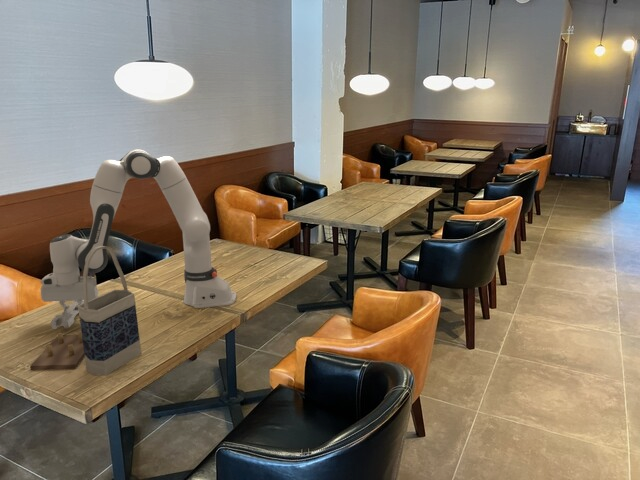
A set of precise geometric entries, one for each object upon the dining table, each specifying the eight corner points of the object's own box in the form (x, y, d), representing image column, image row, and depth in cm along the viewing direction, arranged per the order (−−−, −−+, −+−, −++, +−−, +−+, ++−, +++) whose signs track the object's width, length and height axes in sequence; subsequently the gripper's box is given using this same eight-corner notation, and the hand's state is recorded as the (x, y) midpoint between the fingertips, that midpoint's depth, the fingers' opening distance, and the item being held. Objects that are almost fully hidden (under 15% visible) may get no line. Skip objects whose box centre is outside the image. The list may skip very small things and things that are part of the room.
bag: (102, 378, 158) (86, 256, 147) (82, 371, 161) (65, 252, 150) (144, 352, 174) (133, 240, 163) (125, 347, 177) (113, 237, 166)
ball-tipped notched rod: (75, 303, 207) (74, 296, 206) (90, 302, 207) (89, 296, 207) (52, 328, 185) (50, 321, 184) (69, 328, 185) (67, 320, 184)
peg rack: (98, 337, 184) (97, 324, 183) (76, 368, 163) (74, 354, 162) (58, 338, 183) (57, 326, 182) (30, 370, 162) (28, 356, 160)
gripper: (98, 272, 197) (102, 305, 200) (43, 275, 195) (49, 308, 199) (92, 278, 191) (97, 312, 194) (36, 281, 189) (42, 314, 193)
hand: (72, 310), depth 197 cm, fingers closed on ball-tipped notched rod, 3 cm apart
